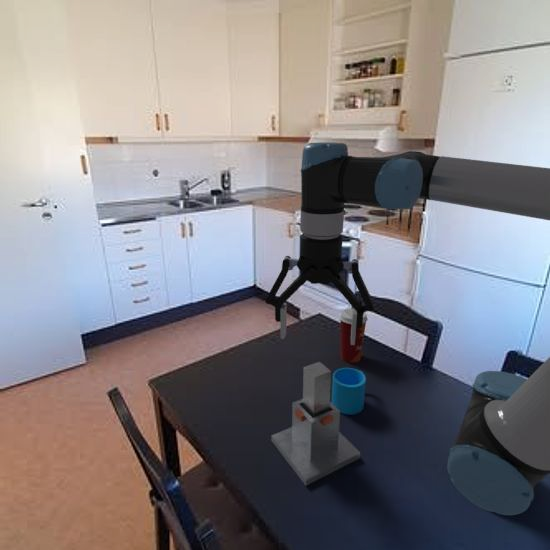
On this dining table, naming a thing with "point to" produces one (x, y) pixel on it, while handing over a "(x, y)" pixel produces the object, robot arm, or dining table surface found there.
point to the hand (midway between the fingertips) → (317, 338)
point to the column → (316, 389)
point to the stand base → (314, 444)
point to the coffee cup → (347, 350)
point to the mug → (348, 390)
